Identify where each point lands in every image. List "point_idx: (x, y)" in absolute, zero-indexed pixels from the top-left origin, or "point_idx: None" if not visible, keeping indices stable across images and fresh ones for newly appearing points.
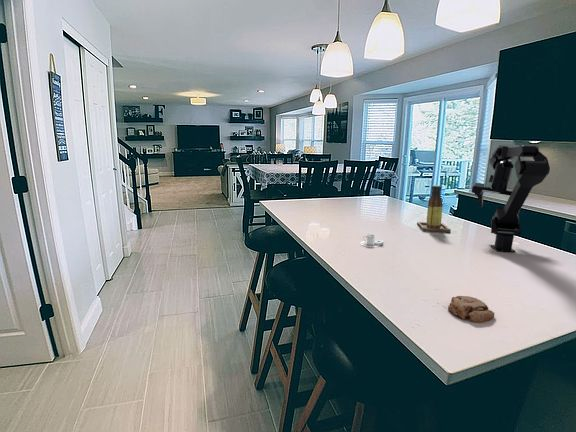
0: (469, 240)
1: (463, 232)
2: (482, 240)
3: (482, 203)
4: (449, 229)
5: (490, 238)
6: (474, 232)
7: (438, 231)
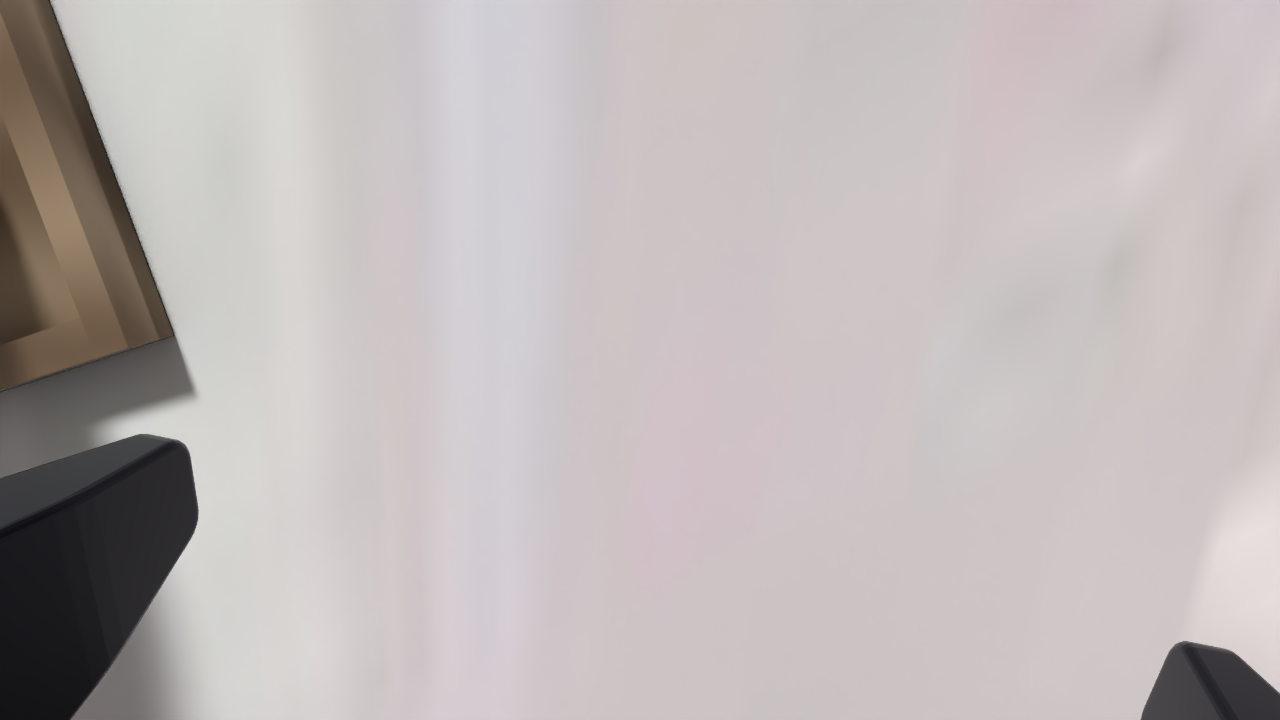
0: (471, 707)
1: (359, 163)
2: (666, 625)
3: (43, 580)
4: (109, 342)
5: (821, 410)
6: (547, 32)
7: (10, 387)
